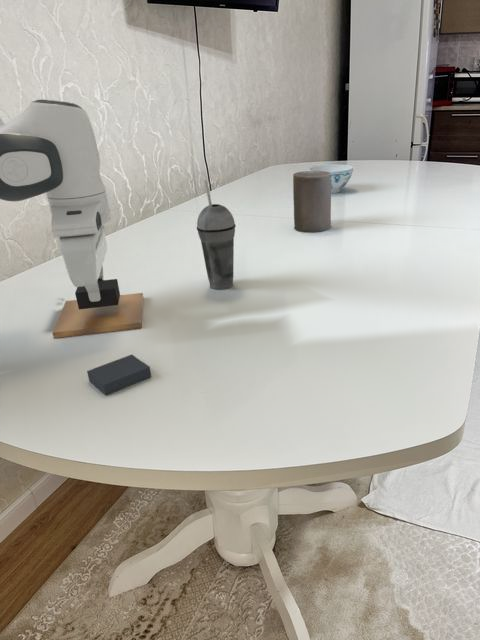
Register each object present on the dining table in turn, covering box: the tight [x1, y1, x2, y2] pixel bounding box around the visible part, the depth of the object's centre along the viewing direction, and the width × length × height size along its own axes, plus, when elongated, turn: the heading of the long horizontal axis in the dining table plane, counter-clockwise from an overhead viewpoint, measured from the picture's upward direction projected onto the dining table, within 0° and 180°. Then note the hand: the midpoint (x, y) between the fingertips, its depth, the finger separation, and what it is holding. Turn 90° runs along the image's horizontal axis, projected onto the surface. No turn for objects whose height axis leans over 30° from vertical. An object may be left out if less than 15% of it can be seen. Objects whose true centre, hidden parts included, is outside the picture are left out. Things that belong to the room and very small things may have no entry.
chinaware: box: [307, 164, 354, 194], centre depth 177 cm, size 15×15×8 cm
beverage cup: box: [196, 179, 237, 291], centre depth 98 cm, size 7×7×20 cm
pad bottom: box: [74, 278, 121, 309], centre depth 90 cm, size 6×5×3 cm
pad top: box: [86, 354, 152, 397], centre depth 69 cm, size 6×5×3 cm
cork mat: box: [52, 292, 145, 339], centre depth 91 cm, size 14×14×1 cm
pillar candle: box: [292, 168, 332, 233], centre depth 134 cm, size 10×10×15 cm
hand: (97, 293), depth 90 cm, fingers closed on pad bottom, 5 cm apart
